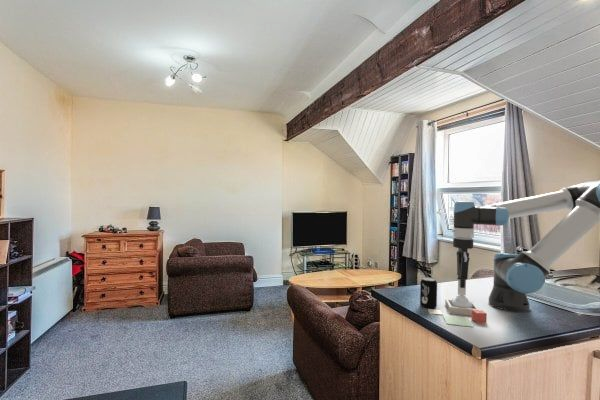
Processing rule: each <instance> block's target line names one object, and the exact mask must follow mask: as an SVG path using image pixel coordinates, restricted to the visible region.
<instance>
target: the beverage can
mask: <svg viewBox="0 0 600 400" xmlns="http://www.w3.org/2000/svg"><path fill="white" fill-rule="evenodd" d="M419 289H420V293H419V294H420V295H419V298H420V299H419V305H420V307H422V308H424V309H427V310H428V309H434V310H435V309H436V307H437V305H438V304H437V303H438V302H437V301H438V300H437V299H438V282H437V279H436V278H434V277H431V276H430V277H428V276H426V277H425V276H423V277H421V280H420V288H419Z"/></svg>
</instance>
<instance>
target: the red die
mask: <svg viewBox="0 0 600 400" xmlns="http://www.w3.org/2000/svg"><path fill="white" fill-rule="evenodd" d="M487 316H488V314H487V312H486V311H484V310H482V309H479V310H472V316H471V320H473V321H474V322H475V323H476V324H487V318H488V317H487Z"/></svg>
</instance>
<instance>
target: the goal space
mask: <svg viewBox="0 0 600 400" xmlns="http://www.w3.org/2000/svg"><path fill="white" fill-rule="evenodd" d="M442 318H443V320H444V322H445V324H446V325H451V326H460V327H468V328H474V325H473V323H472V322H471V319H469V317H466V316H455V315H447V314H443V315H442Z"/></svg>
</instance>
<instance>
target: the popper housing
mask: <svg viewBox="0 0 600 400" xmlns="http://www.w3.org/2000/svg"><path fill="white" fill-rule="evenodd" d="M471 302H472V309H471V308H462V307H453V306H452V299H451V298H449V299H448V298H445V299H444V305H445V307H446V309H447V311H448V313H449V314H454V315H463V316H471V317H472V310H480V308H479V307H478V306H477V304H476V303H475V302H474V301H471Z"/></svg>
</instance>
